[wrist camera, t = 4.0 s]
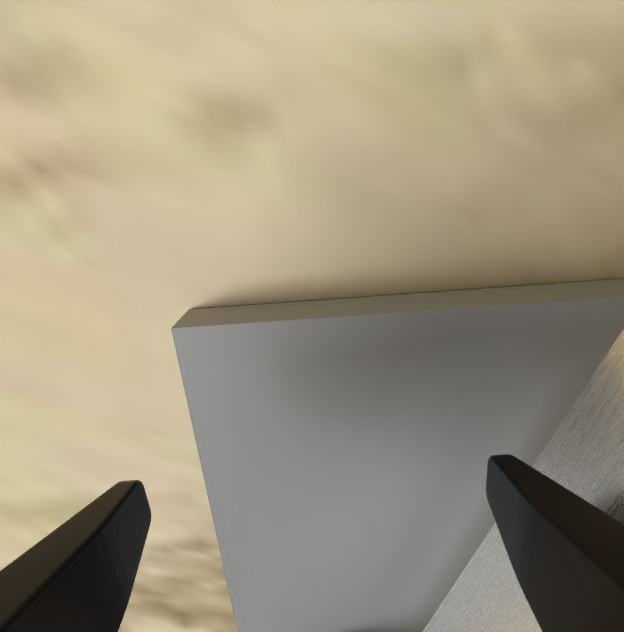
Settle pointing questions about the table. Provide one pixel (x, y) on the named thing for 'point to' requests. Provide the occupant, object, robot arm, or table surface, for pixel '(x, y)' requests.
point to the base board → (375, 438)
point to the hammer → (567, 470)
